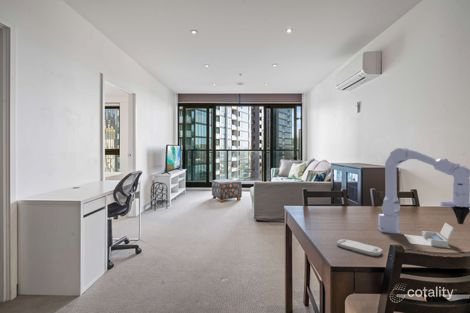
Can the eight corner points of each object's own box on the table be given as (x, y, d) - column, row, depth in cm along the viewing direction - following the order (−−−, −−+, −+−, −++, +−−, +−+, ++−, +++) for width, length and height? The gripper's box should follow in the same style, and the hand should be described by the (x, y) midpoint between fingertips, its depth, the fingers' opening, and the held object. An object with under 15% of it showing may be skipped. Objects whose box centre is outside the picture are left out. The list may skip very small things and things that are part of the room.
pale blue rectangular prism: (436, 244, 122) (437, 240, 122) (431, 239, 128) (431, 236, 128) (442, 245, 121) (442, 241, 121) (437, 240, 128) (437, 236, 128)
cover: (452, 227, 118) (454, 228, 118) (445, 222, 127) (446, 223, 127) (447, 239, 119) (449, 239, 119) (439, 233, 128) (441, 234, 127)
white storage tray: (410, 244, 123) (411, 237, 123) (403, 235, 136) (403, 229, 136) (450, 248, 118) (451, 241, 118) (439, 238, 131) (439, 232, 131)
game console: (384, 247, 113) (377, 252, 107) (384, 253, 113) (377, 258, 107) (342, 237, 126) (334, 241, 121) (342, 242, 126) (334, 246, 121)
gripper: (444, 193, 120) (444, 224, 120) (486, 195, 115) (485, 227, 115) (439, 191, 126) (438, 220, 127) (478, 193, 121) (477, 223, 121)
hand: (460, 223), depth 121 cm, fingers closed
